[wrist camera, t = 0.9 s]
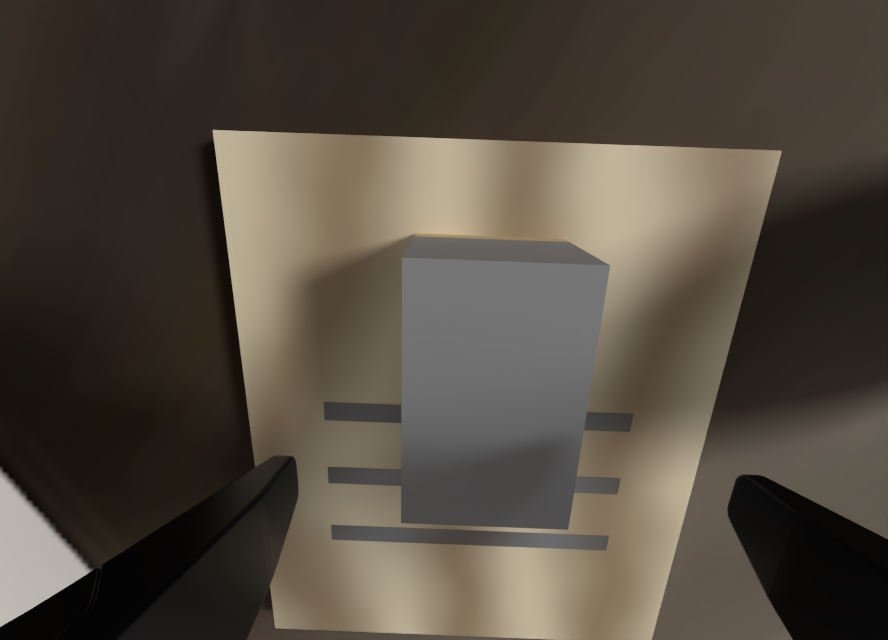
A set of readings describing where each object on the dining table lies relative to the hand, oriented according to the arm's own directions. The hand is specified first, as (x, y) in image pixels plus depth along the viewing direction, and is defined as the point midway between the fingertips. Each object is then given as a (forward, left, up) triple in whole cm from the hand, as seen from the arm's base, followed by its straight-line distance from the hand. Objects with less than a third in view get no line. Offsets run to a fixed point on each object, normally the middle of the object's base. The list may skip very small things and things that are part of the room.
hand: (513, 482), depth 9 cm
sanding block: (0, 0, -8) cm, 8 cm away
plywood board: (0, +4, -9) cm, 10 cm away
